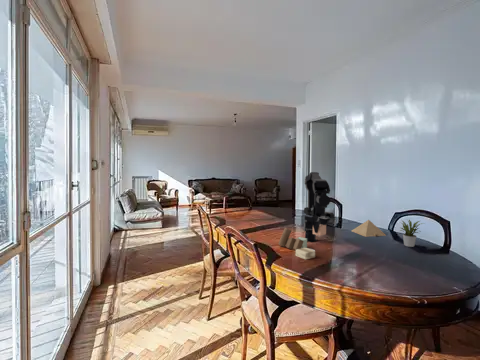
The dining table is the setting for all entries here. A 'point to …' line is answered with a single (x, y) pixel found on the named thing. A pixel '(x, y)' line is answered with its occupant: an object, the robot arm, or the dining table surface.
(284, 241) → the wooden block set
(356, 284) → the dining table surface
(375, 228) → the model pyramid
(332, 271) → the dining table surface
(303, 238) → the sage cube
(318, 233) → the terracotta cube
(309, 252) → the maple base
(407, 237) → the house plant
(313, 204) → the robot arm
